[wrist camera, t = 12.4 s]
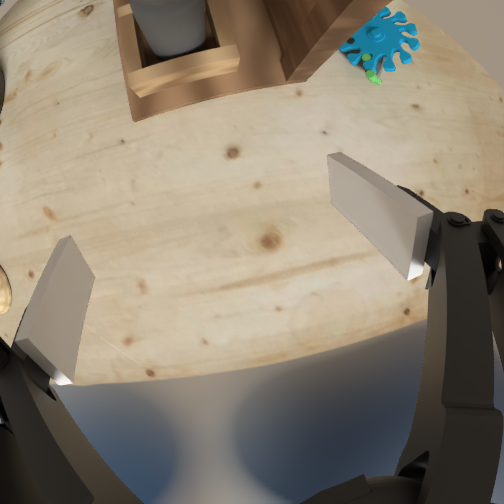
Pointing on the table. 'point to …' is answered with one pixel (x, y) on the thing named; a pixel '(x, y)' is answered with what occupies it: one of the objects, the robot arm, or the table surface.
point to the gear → (381, 43)
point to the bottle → (171, 26)
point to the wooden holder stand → (237, 49)
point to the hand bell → (4, 293)
